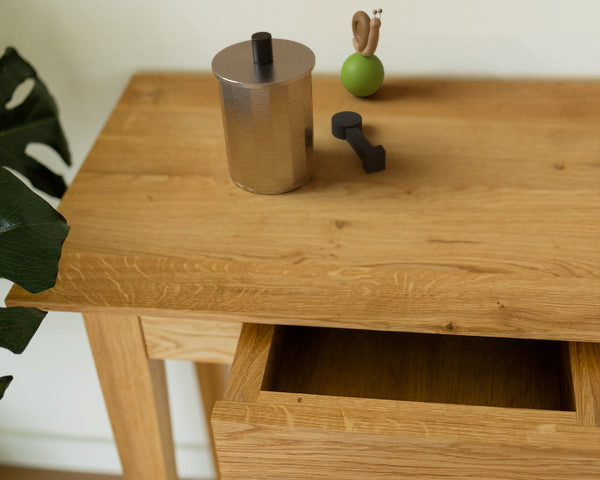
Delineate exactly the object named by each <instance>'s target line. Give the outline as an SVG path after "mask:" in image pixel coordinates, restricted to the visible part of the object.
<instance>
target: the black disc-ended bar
mask: <svg viewBox="0 0 600 480" xmlns="http://www.w3.org/2000/svg"><path fill="white" fill-rule="evenodd" d="M330 118H331V124H330V125H331V129H330V130H331V135H332V136H333V137H334V138H337V139H339V140H343V141H345V140H346V142H347V143H348V144H349V146H350V147H351V148H352V149H353V151H354V152H355V153H356V155H357V156H358V158H359V159H360V160H361V162H362V168H363V170H364V172H365V173H366V174H370V173H375V172H380V171H385V170H386V164H387V163H386V161H387V150H386V148H385V147H384V146H383V145H382V144H377V145H372V143H371V142H370V141H369V139H367V137H366V136H365V134H364V133H363V117H362V115H361V114H360V113H358V112H356V111H351V110H344V111H338V112H336V113H334V114H333V115H332V116H331V117H330Z"/></svg>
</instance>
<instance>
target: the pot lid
mask: <svg viewBox="0 0 600 480" xmlns="http://www.w3.org/2000/svg"><path fill="white" fill-rule="evenodd" d="M210 67H211V72H212V74H213V75H214V77H215V78H216V79H217V78H218V79H219V80H220V81H222V82H224V83H226V84H229V85H232V86H236V87H241V88H250V89H264V88H274V87H280V86H284V85H288V84H291V83H294V82H296V81H299V80H301V79H303V78H304V77H306V76H307V75H308V74H310V73H312V72H313V70H314V69H315V67H316V54H315V53H314V51H313V50H312V49H311V48H310V47H309V46H308V45H305V44H303V43H301V42H298V41H294V40H290V39H286V38H273V35H272V33H270V32H268V31H256V32H254V33H253V34H251V38H250V39H247V40H243V41H239V42H236V43H233V44H231V45H229V46H226V47H224V48H223V49H221V50H220V51H218V52H217V53H216V54H215V55H214V56H213V58H212V60H211V66H210Z"/></svg>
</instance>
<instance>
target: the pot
mask: <svg viewBox="0 0 600 480" xmlns="http://www.w3.org/2000/svg"><path fill="white" fill-rule="evenodd" d="M312 77H313V76H312V72H311V73H310V74H308V75H307V76H306V77H304V78H303V79H301V80H299V81H296V82H294V83H291V84H288V85H284V86H280V87H274V88H264V89H250V88H241V87H236V86H232V85H229V84H226V83H224V82H222V81H220V80H219V79H218V78H216V79H217V87H218V95H219V103H220V111H221V112H220V113H221V120H222V128H223V129H222V130H223V137H224V143H225V151H226V160H227V168H228V173H229V177H230V179H231V181H232V183H234V185H235V186H237V187H238V188H239V189H240V190H244V191H245V192H248V193H252V194H257V195H279V194H286V193H289V192H291V191H295V190H297V189H299V188H301V187H303V186H305V185H306V184H307V183H309V181H310V180H311V179H312V177H313V176H314V173H315V163H316V161H315V136H314V135H315V134H314V133H315V131H314V107H313V105H314V103H313V78H312Z"/></svg>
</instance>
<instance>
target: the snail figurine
mask: <svg viewBox="0 0 600 480" xmlns="http://www.w3.org/2000/svg"><path fill="white" fill-rule="evenodd" d="M382 13H383V8H381V7H379V8H378V9H373V10H372V14H373V15H374V16H373V17H372V18H371V17H370V16H369V15H368V13H367V12H366V11H364V10H358V11H356V12H355V13H354V14H353V16H352V18H351V31H352V35H353V37H352V45H353V48H354V50H355V52H353V53H352V54H349V56H348V57H347V58H346V59H345V60H344V61H343V64H342V66H341V69H340V80H341V84H342V85H343V87H344V88H345V90H346V91H347V92H348V93H350V94H351V95H353V96H355V97H360V98H361V97H362V98H363V97H368V96H369V97H370V96H371V95H374V94H375V93H376V92H377V91H379V89H380V88H381V86H382V85H383V83H384V80H385V68H384V65H383V64H384V63H383V62H382V60H381V59H380V58H379V57H378V56H377V55H376V54H375V53H376V51H377V48H378V44H379V40H380V30H381V27H382V21H381V18H380V17H377V16H376V15H377V14H379V16H382V15H381V14H382Z"/></svg>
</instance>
